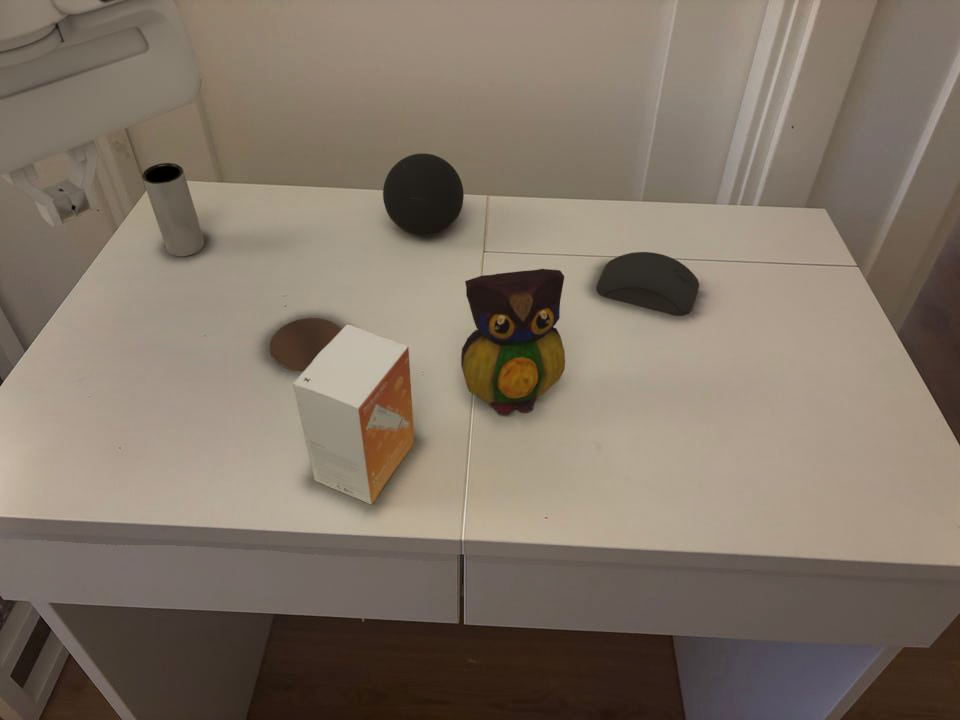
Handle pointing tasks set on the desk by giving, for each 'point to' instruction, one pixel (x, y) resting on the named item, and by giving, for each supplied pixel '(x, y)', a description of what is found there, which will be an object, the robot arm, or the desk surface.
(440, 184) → the speaker
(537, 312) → the figurine
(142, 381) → the desk surface
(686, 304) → the computer mouse
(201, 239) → the grey cylinder
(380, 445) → the small box
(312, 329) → the coaster
